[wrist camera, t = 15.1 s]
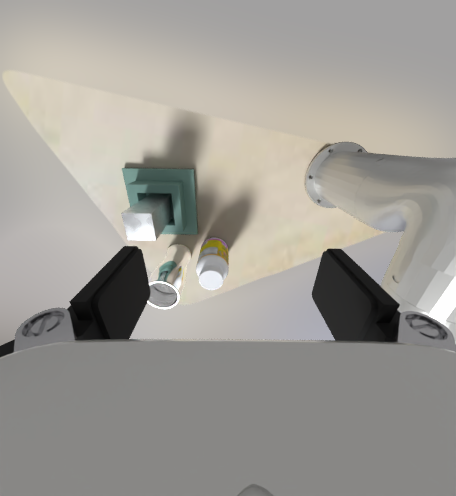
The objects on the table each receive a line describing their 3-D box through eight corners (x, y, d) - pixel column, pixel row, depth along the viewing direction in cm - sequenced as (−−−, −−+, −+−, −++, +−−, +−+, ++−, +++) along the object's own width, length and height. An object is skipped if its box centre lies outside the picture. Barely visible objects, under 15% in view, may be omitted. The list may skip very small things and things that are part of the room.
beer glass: (169, 237, 47) (146, 275, 34) (196, 248, 49) (185, 287, 36) (161, 260, 50) (138, 303, 37) (188, 269, 52) (174, 313, 39)
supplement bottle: (229, 259, 50) (230, 293, 39) (203, 261, 51) (196, 295, 39) (226, 235, 47) (226, 264, 36) (199, 237, 47) (190, 267, 36)
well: (193, 169, 40) (189, 172, 36) (197, 232, 47) (194, 242, 42) (124, 167, 40) (111, 171, 36) (137, 231, 47) (128, 241, 42)
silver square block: (172, 193, 41) (151, 213, 30) (174, 214, 44) (155, 240, 32) (150, 193, 41) (121, 213, 30) (154, 214, 44) (127, 240, 32)
